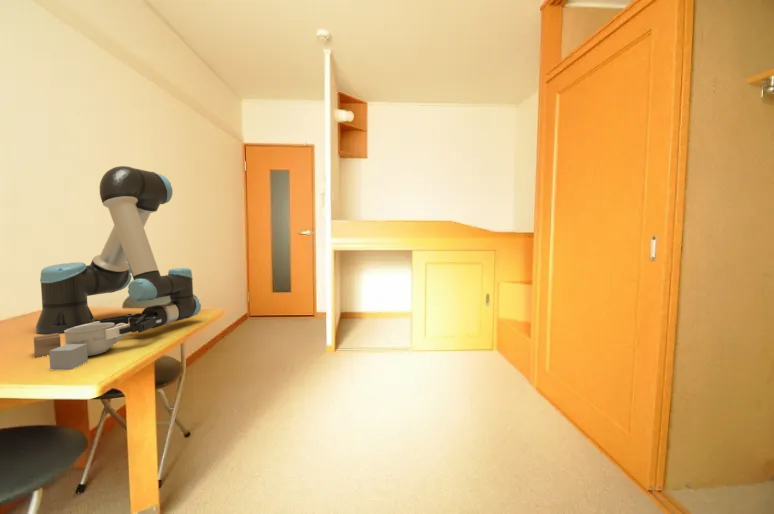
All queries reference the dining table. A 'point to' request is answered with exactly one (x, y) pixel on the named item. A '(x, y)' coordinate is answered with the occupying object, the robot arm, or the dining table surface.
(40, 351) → the walnut block
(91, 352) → the teacup
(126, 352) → the dining table surface
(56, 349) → the slate block
